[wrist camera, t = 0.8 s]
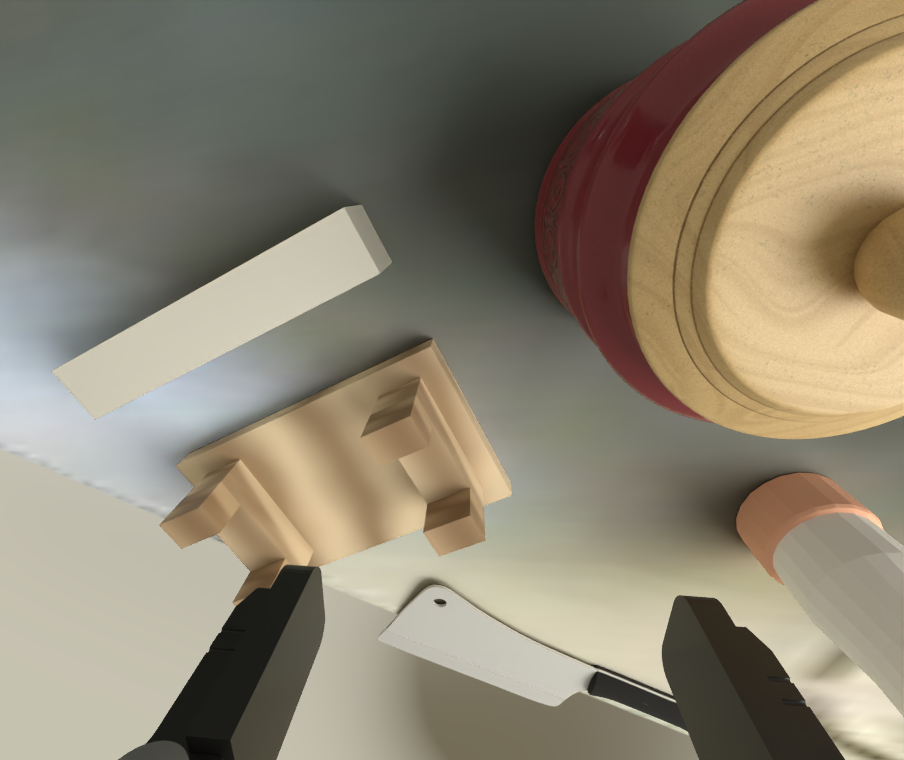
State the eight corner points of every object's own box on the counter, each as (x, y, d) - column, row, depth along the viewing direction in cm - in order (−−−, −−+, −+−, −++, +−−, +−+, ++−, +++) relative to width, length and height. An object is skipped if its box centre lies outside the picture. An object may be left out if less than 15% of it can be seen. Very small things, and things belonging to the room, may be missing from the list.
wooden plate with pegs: (284, 567, 36) (246, 642, 30) (188, 453, 32) (122, 515, 26) (510, 481, 31) (519, 550, 25) (432, 338, 27) (422, 379, 21)
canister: (488, 266, 26) (517, 400, 9) (622, 19, 21) (1163, -591, 5) (669, 365, 27) (953, 616, 11) (830, 159, 23) (1728, 84, 6)
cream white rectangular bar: (140, 391, 30) (95, 419, 26) (104, 348, 29) (51, 371, 25) (393, 261, 26) (380, 273, 22) (362, 204, 25) (343, 207, 21)
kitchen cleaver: (374, 648, 38) (426, 590, 34) (378, 629, 40) (429, 570, 35) (655, 760, 44) (734, 724, 39) (650, 740, 45) (725, 702, 40)
